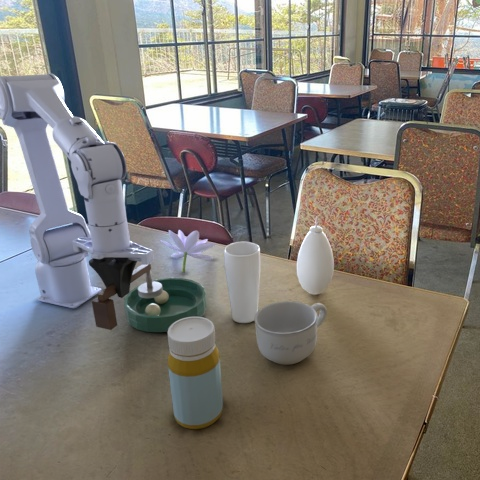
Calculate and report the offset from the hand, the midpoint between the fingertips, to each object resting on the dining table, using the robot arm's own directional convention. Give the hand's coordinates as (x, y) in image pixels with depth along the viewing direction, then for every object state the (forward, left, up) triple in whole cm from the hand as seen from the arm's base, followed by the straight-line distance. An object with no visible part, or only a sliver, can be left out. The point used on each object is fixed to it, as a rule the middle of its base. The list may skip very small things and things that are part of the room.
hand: (119, 293), depth 83 cm
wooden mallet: (0, +3, -4) cm, 5 cm away
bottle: (+21, -11, -10) cm, 26 cm away
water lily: (-6, +32, -10) cm, 34 cm away
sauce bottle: (+26, +29, -10) cm, 40 cm away
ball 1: (0, +8, -8) cm, 11 cm away
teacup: (+29, +8, -10) cm, 32 cm away
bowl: (+1, +11, -10) cm, 14 cm away
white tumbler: (+16, +15, -10) cm, 24 cm away
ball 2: (-1, +13, -8) cm, 15 cm away
